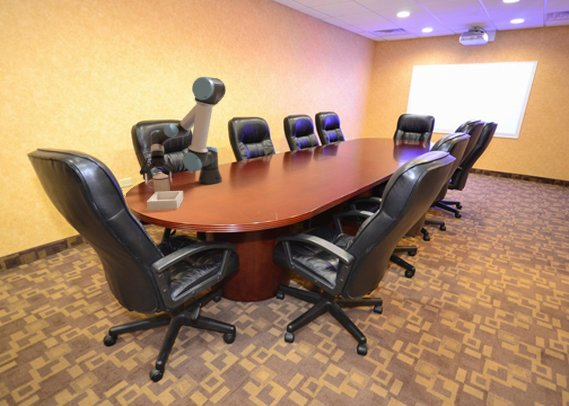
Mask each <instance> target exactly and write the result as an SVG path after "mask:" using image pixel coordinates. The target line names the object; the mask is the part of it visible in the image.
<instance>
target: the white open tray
mask: <svg viewBox="0 0 569 406" xmlns="http://www.w3.org/2000/svg"><path fill="white" fill-rule="evenodd" d="M183 200H184V191H183V190H170V191H164V192H155V191H154V193H153V194H152V195H151V196H150V198H149V199H147V201H146V206H147V211H157V210H158V211H161V210H162V211H163V210H178V209H179V207H180V205H181V204H182V202H183Z"/></svg>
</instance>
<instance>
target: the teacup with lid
mask: <svg viewBox="0 0 569 406" xmlns="http://www.w3.org/2000/svg"><path fill="white" fill-rule="evenodd" d="M150 182H152V183H153V186H151V185H150ZM170 185H171V183H170V175H168V174H165V173H163V172H162V171H159V172H158V173H157V174H156V175H153V176H152V179H150V180H147V186H148V187H149V188H150V189H153V190H154V193H155V192H164V191H171V187H170Z"/></svg>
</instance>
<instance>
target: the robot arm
mask: <svg viewBox="0 0 569 406" xmlns="http://www.w3.org/2000/svg"><path fill="white" fill-rule="evenodd" d="M191 89H192V93H193V96H194V101H195V103H196V104H195V105H194V106H193V107H192V108H191V109H190V111H189V112H188V113H187V114H186V115H185V116H184V117H183V118H182V119H181V121H179V123H178V124H177V125H176V124H173V123H168V124H167V125H165V126H164V127H163V128H161V129H155V130H152V131H151V132H150V137H149V138H150V160H149V159H145V160H144V163H143V165H142V167H141V169H140V170H139V174H140V176H142V179H143V180H144V183H145V186H148V174H149V172H150V171H151V170H152V169H154V168H160V167H161V168H164V169H166V170H167V172H169V183H170V185H173V179H174V177H175V176H174V175H175V174H176V173H177V168H176V167H175V166H174V164H173V163H172V162H171V159H170V157H169V158H166V159H165V146H164V145H165V144H166V143H167V142H169V141H170V140H172V139H178V138H184V137H187V136H189V135H190V132H191V130H192V136H191V137H192V138H191V142H190V143H191V144H189V145H188V147H187V152H186V153H185V154H183V157H182V163H183V165H184V166H185V168H186V169H187V170H188V171H190V172H198V171H199V175H198V183H200V184H202V185H214V184H219V183H221V182H223V178H222V175H221V172H220V170H219V156H218V148H217V147H216V146H207V142H208V137H209V132H210V131H209V130H210V125H211V119H212V113H213V112H212V111H213V107H215V106H216V105H218V104H219V102H221V101H222V99H223V98H224V97H225V94H226V85H225V83H224V82H223V80H221V79H219V78H217V77H209V76H201V77H198V78H196V79H195V80H194V82H193V83H192V88H191ZM166 163H167V164H168V165H169V166H168V165H167V164H166ZM149 164H150V165H149Z"/></svg>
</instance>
